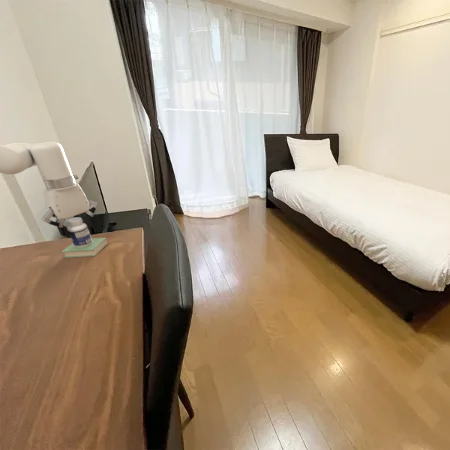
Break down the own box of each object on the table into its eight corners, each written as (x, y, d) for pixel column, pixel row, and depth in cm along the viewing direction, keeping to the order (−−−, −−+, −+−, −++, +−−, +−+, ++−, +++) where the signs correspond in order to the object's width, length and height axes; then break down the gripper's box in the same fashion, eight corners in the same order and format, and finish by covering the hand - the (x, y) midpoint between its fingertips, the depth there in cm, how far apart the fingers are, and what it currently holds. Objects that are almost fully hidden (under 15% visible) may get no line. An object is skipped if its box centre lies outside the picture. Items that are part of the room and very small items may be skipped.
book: (64, 257, 93) (61, 251, 92) (80, 244, 101) (77, 238, 100) (95, 256, 94) (92, 250, 93) (108, 243, 102) (106, 237, 101)
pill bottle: (73, 244, 97) (63, 219, 92) (91, 239, 100) (82, 215, 96) (76, 249, 93) (65, 224, 89) (94, 244, 97) (85, 219, 92)
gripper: (81, 174, 95) (98, 219, 103) (19, 188, 81) (44, 240, 89) (95, 177, 93) (111, 223, 100) (33, 192, 78) (57, 245, 86)
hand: (79, 231), depth 94 cm, fingers open, 7 cm apart
